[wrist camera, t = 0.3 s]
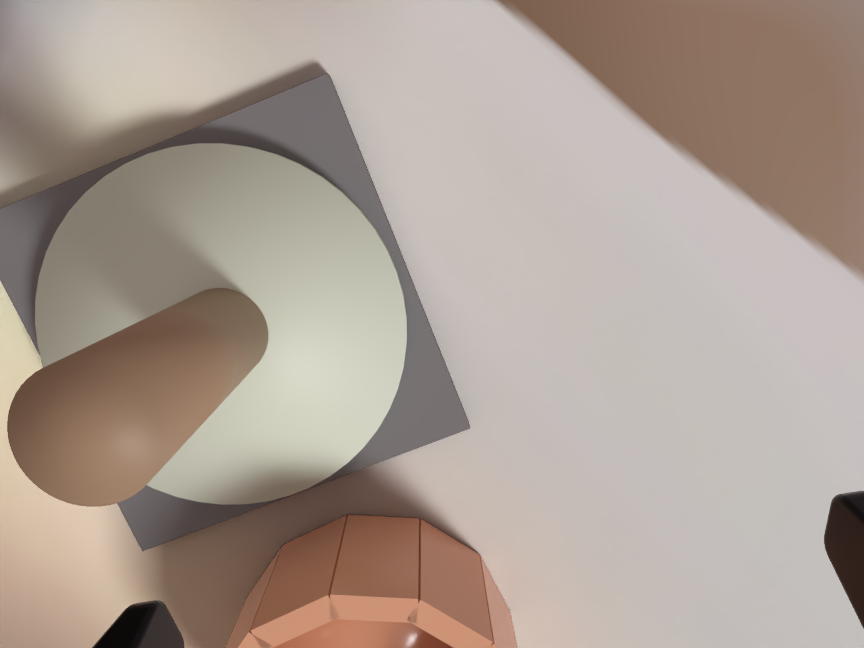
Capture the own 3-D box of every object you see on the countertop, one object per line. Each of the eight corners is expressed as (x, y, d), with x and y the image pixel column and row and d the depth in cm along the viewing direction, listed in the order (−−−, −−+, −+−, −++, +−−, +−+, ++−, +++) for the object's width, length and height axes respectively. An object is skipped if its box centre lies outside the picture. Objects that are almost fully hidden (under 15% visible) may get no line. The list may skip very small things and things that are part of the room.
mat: (468, 422, 24) (470, 428, 24) (149, 542, 25) (142, 551, 25) (330, 76, 22) (328, 73, 21) (-19, 220, 23) (-31, 221, 22)
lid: (289, 553, 25) (201, 796, 15) (-15, 377, 23) (-333, 517, 13) (476, 278, 23) (517, 348, 13) (159, 67, 21) (-63, -32, 12)
